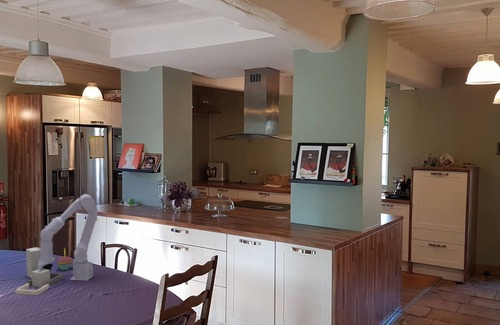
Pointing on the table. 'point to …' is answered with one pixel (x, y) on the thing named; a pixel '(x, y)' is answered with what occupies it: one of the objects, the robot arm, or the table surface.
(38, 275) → the skincare box
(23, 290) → the bracket frame
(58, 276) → the frame
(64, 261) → the cupcake
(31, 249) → the skincare box
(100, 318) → the table surface
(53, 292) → the table surface
